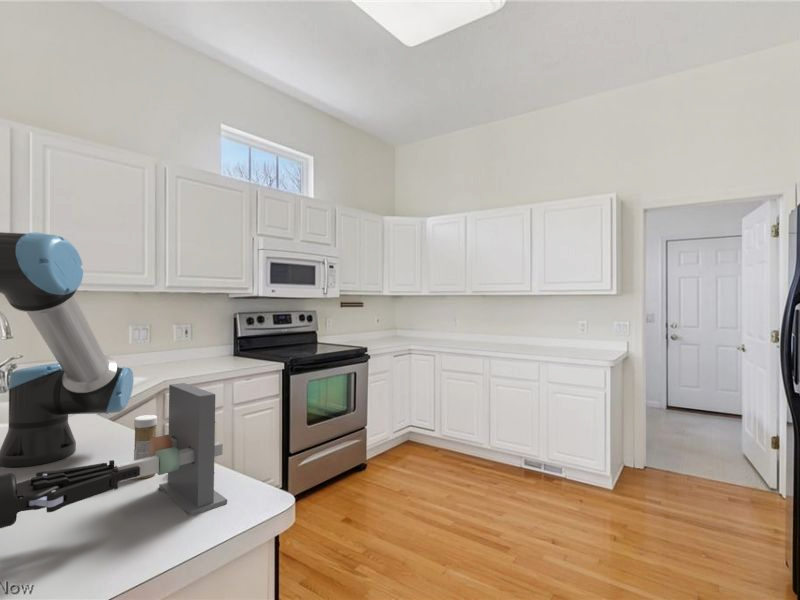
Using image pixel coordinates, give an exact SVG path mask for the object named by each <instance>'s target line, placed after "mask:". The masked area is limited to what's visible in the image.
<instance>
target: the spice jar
mask: <svg viewBox="0 0 800 600" xmlns="http://www.w3.org/2000/svg"><path fill="white" fill-rule="evenodd" d="M157 425H158V416H157V415H155V414H145V415H144V414H142V415H139V416H137V417H135V418H134V422H133V427H134V450H133V461H135V460H139V459H144V458H148V457H150V453H149V441H150V439H151V438H153V437H157ZM156 474H157V473H154V474H150V475H146V476H142V477H138V478H137V479H148V478H151V477H153V476H154V475H156Z"/></svg>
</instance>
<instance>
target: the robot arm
mask: <svg viewBox="0 0 800 600" xmlns="http://www.w3.org/2000/svg"><path fill="white" fill-rule="evenodd" d="M82 266H83V262H82V259H81V255H80V253H79V252H78V250H77V249H76V247H75V246H74V245H73V244H72V243H71V242H70V241H69V240H68V239H66V238H64V237H62V236H59V235H55V234H46V233H42V232H28V233H24V232H23V233H21V232H3V231H2V232H1V231H0V294H2V295H3V296H4V298H5V299H6V300H7V302H8V303H9V305H10V306H11V307H12V308H13V309H15V310H17V311H19V312H25V313H27V315H28V317H29V318H30V320H31V321H32V323H33V325H34V326H35V328H36V329H37V331H38V332H39V334H40V336H41V337H42V339H43V340H44V342H45V344H46V345H47V346H48V349H49V350H50V351H51V353H52V354H53V357H54V358H55V360H56V361H57V362H56V363H47V364H41V365H36V366H28V367H24V368H19V369H16V370H15V371H12V373H11V374H10V376H9V384H8V388H7V390H8V427H7V428H8V429H7V433H6V435H5V438H4V440H3V442H2V444H1V447H0V467H8V468H21V467H31V466H37V465H38V466H39V465H44V464H47V463H52V462H55V461H58V460H62V459H65V458H68V457H69V456H71V455H73V454H74V453H75V452H76V450H77V449H76V448H77V442H76V438H75V436H74V434H73V431H72V429H71V426H70V424H69V415H95V414H98V415H99V414H101V415H102V414H103V415H104V414H106V415H108V414H115V413H121V412H123V410H125V409H126V407H127V406H128V404H129V402H130V400H131V396H132V394H133V393H132V392H133V389H134V373H133V370H132V369H131V368H130V367H125V366H123V367H119V365H118V364H117V362H116V360H115V359H114V358H113V357H111V356H109V355H105V354H104V352H103V350H102V348H101V346H100V343H99V342H98V340H97V338H96V336H95V334H94V332H93V330H92V328H91V326H90V324H89V322H88V320H87V318H86V315H85V314H84V312H83V310H82V309H81V306H80V304H79V301H77V300H78V299H77V298H76V296H75V295H76V294H77V292H78V288H79V287H80V285H82V284H81V283H82V282H83V278H84V277H83V276H84V269H83V268H82ZM108 463H109V464H108ZM158 472H159V457H157V456H152V457H148V458H144V459H139V460H135V461H134V460H131V461H127V462H121V463H118V464H115V460H114V459H113V460H109V461H108V462H101V463H96V464H89V465H83V466H77V467H72V468H71V467H69V468H65V469H64V468H63V469H59V470H58V469H57V470H49V471H45V470H44V471H38V472H36V473H35V476H34V477H31V478H30V479H26V480H24V481H20V482H17V477H16V475H15V474H14V473H12V472H11V473H4V474H1V475H0V529H4V528H8V527H10V526H13V525H14V524H15V523H16V521H17V517H18V516H17V514H18V513H20V512H25V511H27V512H28V511H36V510H41V509H45V508H46V513H53V512H56V511H58V510H60V509H61V508H64V507H66V506H68V505H72V504H74V503H77V502H81V501H83V500H87V499H90V498H92V497H94V496H98V495H100V494H103V493H107V492H109V491H113V490H117V489H118V488H119V483H122V482H123V483H124V482H126V481H129V480H134V479H138V477H142V476H146V475H150V474H154V473H156V474H157V473H158Z"/></svg>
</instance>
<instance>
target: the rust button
mask: <svg viewBox="0 0 800 600" xmlns="http://www.w3.org/2000/svg"><path fill="white" fill-rule="evenodd" d="M171 447H176V448H177V438H175V437H173V438H171V437H170V436H169V434H164V435H158V436H156V437H153V438H151V439H150V441H149V453H150V457H152V456H155V453H156V451H158V450H162V449H167V448H171Z"/></svg>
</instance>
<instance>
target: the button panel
mask: <svg viewBox="0 0 800 600" xmlns="http://www.w3.org/2000/svg"><path fill="white" fill-rule="evenodd" d="M168 387H169V389H168V393H169V394H168V435H169V436H170V437H171V438H173V437H175V438H177V449H178V450H182V449H187V448H191V447H192V448H194V449H195V453H194V462H191V463H187V464H183V465H180V466H179V469H178V470H177V471H173V472H169V473H167V482H163V483H159V485H158V488H159V489H160V490H161V491H162V492H163V493H164V494H165V495H166V494H167V495H166V496H168V498H170V499H171V500H172V501H173V502H174V501H175V502H176V503H175V502H174V503H175V504H177V505H178V506H179V507H180V508H181V510H184V512H185V513H187V514H188V515H189V516H194V514H195V515H197V513H198V514H201V513H203V512H206V511H209V510H213V509H214V508H217V507H221V506H224V505H227V504H228V498H226V497H225V496H224V495H222V494H221V493H219V492H218V491H216V490H215V457H214V449H215V442H216V436H215V435H216V432H215V431H216V430H215V429H216V424H215V423H216V394H215V393H213V392H210V391H208V390H205V389H202V388H199V387H196V386H194V385H192V384H191V385H190V384H188V383H185V382H181V383H173V384H172V383H171V384H169V386H168ZM200 512H201V513H200Z"/></svg>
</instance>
